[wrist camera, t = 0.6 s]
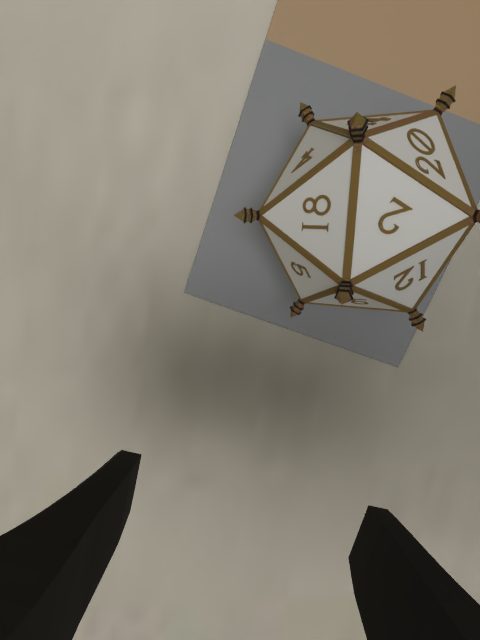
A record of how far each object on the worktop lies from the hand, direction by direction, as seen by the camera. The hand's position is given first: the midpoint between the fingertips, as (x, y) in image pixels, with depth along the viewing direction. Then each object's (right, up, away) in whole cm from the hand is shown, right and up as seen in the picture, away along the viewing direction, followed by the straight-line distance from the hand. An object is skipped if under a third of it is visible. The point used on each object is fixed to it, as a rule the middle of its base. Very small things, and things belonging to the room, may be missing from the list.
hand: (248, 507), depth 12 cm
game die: (+5, +11, +7) cm, 14 cm away
